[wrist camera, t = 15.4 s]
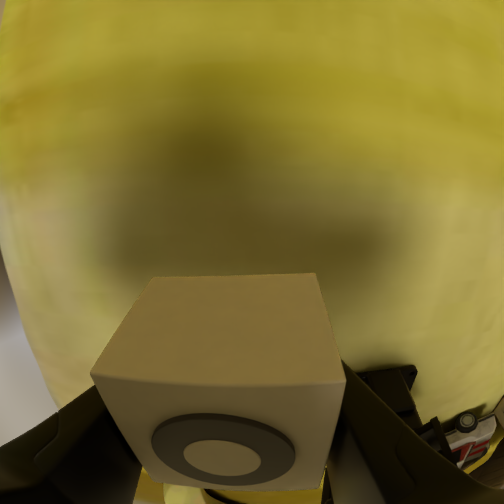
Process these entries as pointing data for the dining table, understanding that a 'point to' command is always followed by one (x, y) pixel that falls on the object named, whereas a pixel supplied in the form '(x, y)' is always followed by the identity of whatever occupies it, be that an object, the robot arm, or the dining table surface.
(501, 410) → the small box
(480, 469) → the boat shoe
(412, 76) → the dining table surface
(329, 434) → the tile
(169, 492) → the banana
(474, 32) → the dining table surface
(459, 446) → the toy car
